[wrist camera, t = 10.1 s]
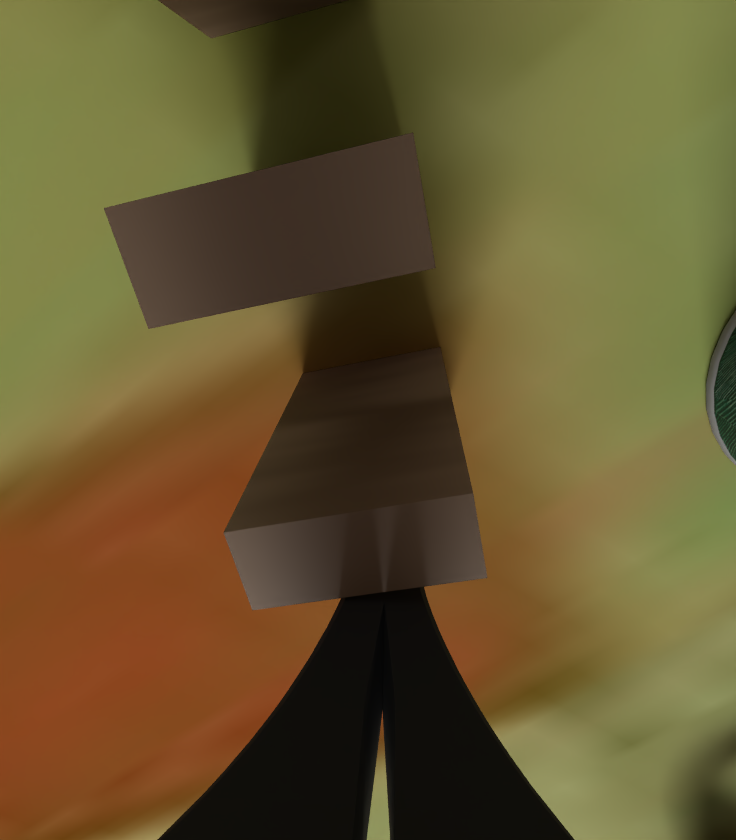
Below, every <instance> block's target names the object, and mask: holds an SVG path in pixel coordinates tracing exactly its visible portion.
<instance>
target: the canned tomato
mask: <svg viewBox="0 0 736 840" xmlns="http://www.w3.org/2000/svg"><path fill="white" fill-rule="evenodd" d="M706 410H707V414H708V417H709V421H710V425H711V429H712V432H713V434H714V436H715V438H716V440H717V441H718V443H719V445H720V447H721V449H722V450H723V452H724V453H725V455H726V456H727V457H728V458H729V459H730V460H731V461H732V462H733V463H734V464H735V465H736V311H735V312H734V314H733V315H732V317H731V319H730V320H729V322H728V323H727V325H726V326H725V328H724V330H723V331H722V334H721V336H720V338H719V341H718V343H717V346H716V348H715V351H714V353H713V355H712V358H711V362H710V367H709V372H708V377H707V382H706Z"/></svg>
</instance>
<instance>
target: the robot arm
mask: <svg viewBox="0 0 736 840" xmlns="http://www.w3.org/2000/svg"><path fill="white" fill-rule="evenodd" d="M382 710H383V725H384V742H385V759H386V775H387V792H388V808H389V825H390V840H574V839H573V837H572V836H571V835H570V834H569V832H568V831H567V830H566V829H565V827H564V826H563V825H562V824H561V822H560V821H559V820H558V819H557V817H556V816H555V815H554V813H553V812H552V811H551V810H550V808H549V807H548V806H547V805H546V803H545V802H544V801H543V800H542V798H541V797H540V796H539V795H538V793H537V792H536V791H535V790H534V788H533V787H532V786H531V784H530V783H529V782H528V780H527V779H526V777H525V776H524V775H523V773H522V772H521V771H520V769H519V768H518V766H517V765H516V764H515V762H514V761H513V759H512V758H511V757H510V755H509V754H508V752H507V751H506V749H505V748H504V746H503V745H502V743H501V742H500V740H499V739H498V737H497V736H496V734H495V733H494V731H493V730H492V728H491V726H490V725H489V723H488V722H487V720H486V718H485V717H484V715H483V713H482V712H481V710H480V708H479V707H478V705H477V703H476V702H475V700H474V698H473V696H472V695H471V693H470V691H469V689H468V688H467V686H466V684H465V682H464V680H463V678H462V677H461V675H460V673H459V671H458V669H457V667H456V665H455V663H454V661H453V659H452V657H451V655H450V653H449V651H448V649H447V647H446V644H445V642H444V640H443V638H442V636H441V634H440V631H439V629H438V627H437V624H436V622H435V619H434V617H433V614H432V612H431V609H430V606H429V603H428V600H427V597H426V593H425V590H424V587H417V588H410V589H403V590H395V591H388V592H381V593H373V594H366V595H359V596H352V597H344V598H341V600H340V602H339V604H338V606H337V608H336V610H335V612H334V614H333V616H332V618H331V620H330V622H329V624H328V626H327V628H326V630H325V632H324V633H323V635H322V637H321V639H320V640H319V642H318V644H317V646H316V647H315V649H314V651H313V653H312V654H311V656H310V658H309V659H308V661H307V662H306V664H305V665H304V667H303V669H302V670H301V672H300V673H299V675H298V676H297V678H296V679H295V681H294V682H293V684H292V685H291V687H290V688H289V690H288V691H287V693H286V694H285V696H284V697H283V698H282V700H281V701H280V703H279V704H278V705H277V707H276V708H275V710H274V711H273V712H272V714H271V715H270V716H269V718H268V719H267V720H266V721H265V723H264V724H263V725H262V727H261V728H260V729H259V730H258V732H257V733H256V734H255V735H254V737H253V738H252V739H251V740H250V742H249V743H248V744H247V745H246V746H245V748H244V749H243V750H242V751H241V752H240V753H239V755H238V756H237V757H236V758H235V759H234V760H233V762H232V763H231V764H230V765H229V766H228V767H227V769H226V770H225V771H224V772H223V773H222V774H221V775H220V776H219V778H218V779H217V780H216V781H215V782H214V783H213V784H212V785H211V786H210V787H209V788H208V790H207V791H206V792H205V793H204V794H203V795H202V796H201V797H200V798H199V799H198V800H197V801H196V802H195V803H194V804H193V805H192V806H191V807H190V808H189V809H188V810H187V811H186V812H185V813H184V814H183V815H182V816H181V817H180V818H179V819H178V820H177V821H176V822H175V823H174V824H173V825H172V826H171V827H170V828H169V829H168V830H167V831H166V832H165V833H164V834H163V835H162V836H161V837H160V838H159V839H158V840H367V831H368V823H369V815H370V807H371V799H372V791H373V783H374V775H375V767H376V759H377V750H378V742H379V734H380V726H381V718H382Z"/></svg>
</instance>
